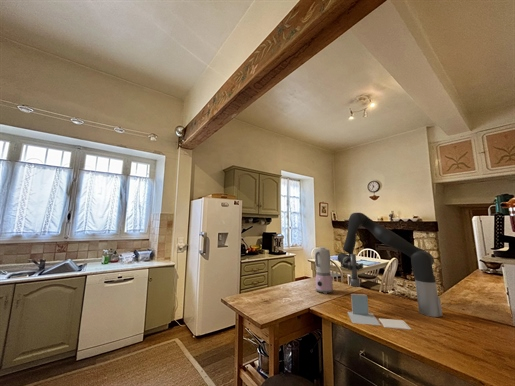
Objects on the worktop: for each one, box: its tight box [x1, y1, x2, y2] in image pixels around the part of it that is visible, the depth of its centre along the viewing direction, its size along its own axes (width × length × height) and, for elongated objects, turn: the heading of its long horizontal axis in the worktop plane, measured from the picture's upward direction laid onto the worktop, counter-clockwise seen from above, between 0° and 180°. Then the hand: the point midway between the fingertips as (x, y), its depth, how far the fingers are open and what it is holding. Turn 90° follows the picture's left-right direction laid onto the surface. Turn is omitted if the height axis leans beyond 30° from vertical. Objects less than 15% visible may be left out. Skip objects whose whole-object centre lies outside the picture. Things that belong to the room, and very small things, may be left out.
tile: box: [350, 293, 370, 315], centre depth 114 cm, size 8×2×10 cm, turn 76°
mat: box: [347, 311, 381, 326], centre depth 109 cm, size 13×14×1 cm
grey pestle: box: [350, 253, 361, 288], centre depth 124 cm, size 5×5×18 cm
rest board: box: [378, 318, 412, 331], centre depth 101 cm, size 11×9×1 cm
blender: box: [314, 246, 334, 295], centre depth 156 cm, size 16×12×32 cm
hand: (355, 268), depth 121 cm, fingers closed on grey pestle, 3 cm apart
